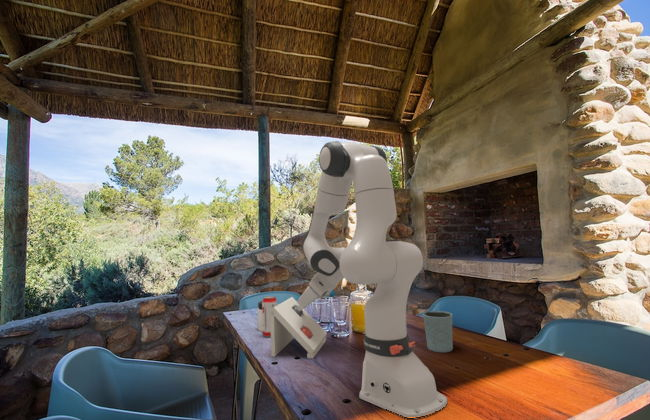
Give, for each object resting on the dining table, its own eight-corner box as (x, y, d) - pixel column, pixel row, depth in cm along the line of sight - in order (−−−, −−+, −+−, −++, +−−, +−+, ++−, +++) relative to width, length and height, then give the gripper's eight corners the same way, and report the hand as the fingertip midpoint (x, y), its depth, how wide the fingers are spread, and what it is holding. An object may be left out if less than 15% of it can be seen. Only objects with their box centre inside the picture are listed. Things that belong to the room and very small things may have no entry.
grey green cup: (444, 355, 113) (442, 318, 114) (418, 348, 121) (416, 313, 122) (460, 348, 119) (458, 313, 120) (434, 341, 127) (432, 309, 128)
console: (327, 340, 134) (325, 296, 135) (314, 358, 114) (312, 307, 115) (290, 338, 137) (288, 296, 138) (271, 356, 118) (270, 307, 119)
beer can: (279, 333, 145) (278, 295, 147) (275, 337, 139) (274, 298, 140) (265, 333, 146) (264, 295, 147) (260, 337, 140) (260, 298, 141)
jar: (264, 325, 158) (264, 299, 159) (280, 326, 156) (279, 300, 156) (254, 331, 150) (254, 303, 151) (270, 332, 147) (270, 304, 148)
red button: (313, 339, 123) (313, 325, 123) (310, 342, 119) (310, 328, 119) (300, 338, 124) (300, 325, 124) (297, 342, 120) (296, 328, 120)
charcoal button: (304, 317, 132) (304, 304, 133) (301, 320, 128) (301, 306, 129) (292, 317, 133) (292, 304, 134) (289, 319, 129) (288, 306, 130)
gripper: (323, 274, 140) (301, 298, 142) (309, 281, 120) (284, 309, 122) (334, 285, 139) (311, 309, 140) (322, 294, 119) (296, 322, 120)
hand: (299, 309), depth 131 cm, fingers closed, pressing on charcoal button
